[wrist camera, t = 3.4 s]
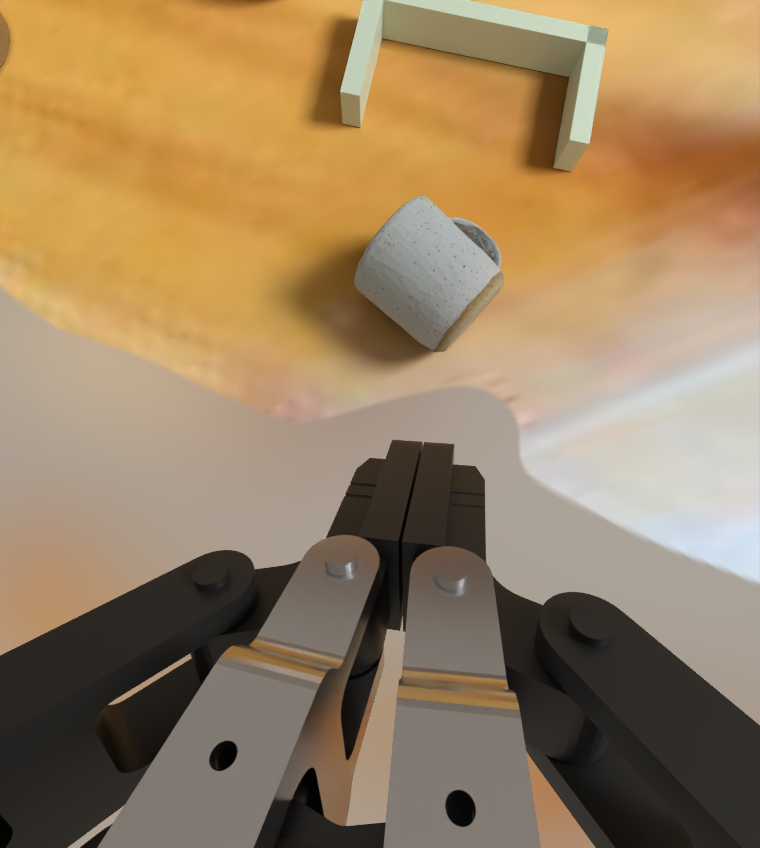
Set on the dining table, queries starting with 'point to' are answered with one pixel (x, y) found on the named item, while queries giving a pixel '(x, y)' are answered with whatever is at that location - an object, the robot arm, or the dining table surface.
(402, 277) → the ceramic mug
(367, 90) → the u-shaped bracket
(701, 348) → the dining table surface
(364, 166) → the dining table surface
